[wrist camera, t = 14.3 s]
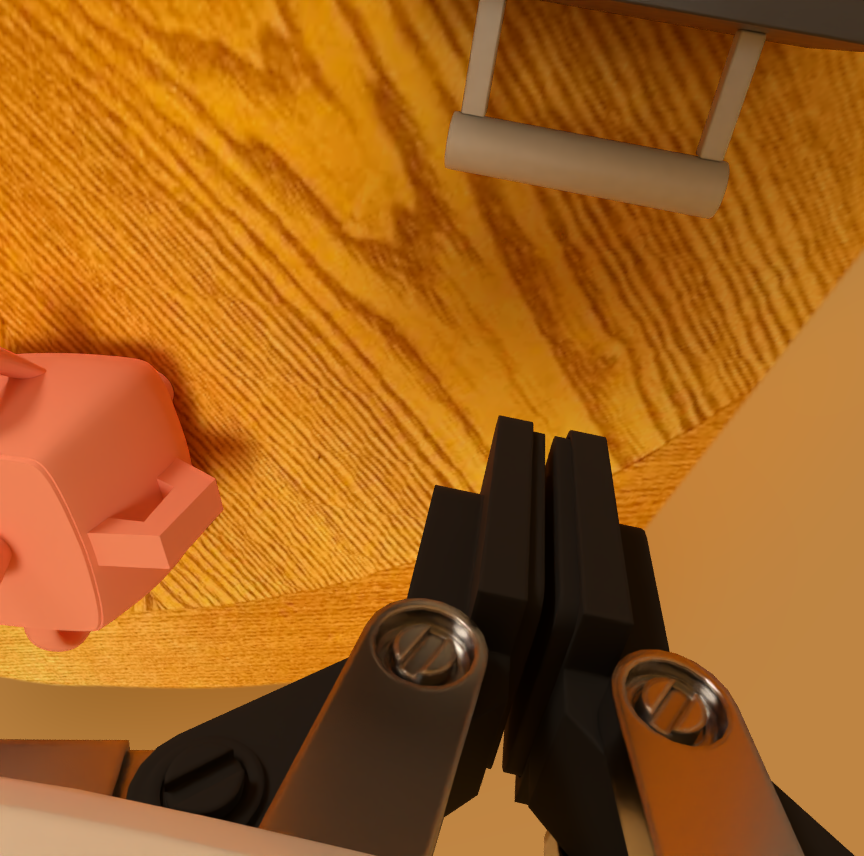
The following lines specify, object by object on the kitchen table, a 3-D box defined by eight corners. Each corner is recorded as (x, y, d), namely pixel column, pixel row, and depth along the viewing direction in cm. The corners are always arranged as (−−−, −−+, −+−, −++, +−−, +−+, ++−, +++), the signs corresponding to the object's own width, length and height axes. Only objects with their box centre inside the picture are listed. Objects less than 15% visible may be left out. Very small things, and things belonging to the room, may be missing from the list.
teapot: (-48, 421, 33) (-249, 552, 25) (73, 257, 28) (-132, 355, 20) (145, 572, 36) (22, 733, 28) (286, 451, 31) (187, 605, 23)
